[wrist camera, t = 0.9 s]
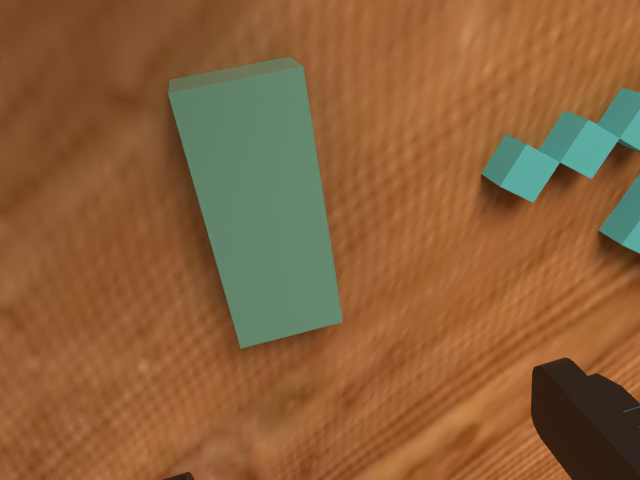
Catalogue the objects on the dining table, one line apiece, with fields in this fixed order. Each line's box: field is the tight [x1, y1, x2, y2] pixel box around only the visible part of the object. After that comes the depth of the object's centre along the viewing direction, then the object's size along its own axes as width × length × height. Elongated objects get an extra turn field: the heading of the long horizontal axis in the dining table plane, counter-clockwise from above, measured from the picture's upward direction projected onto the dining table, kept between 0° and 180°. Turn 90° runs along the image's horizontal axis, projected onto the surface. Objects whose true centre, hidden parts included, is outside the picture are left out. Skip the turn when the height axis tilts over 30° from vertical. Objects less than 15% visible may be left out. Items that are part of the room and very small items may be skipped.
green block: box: [168, 56, 343, 349], centre depth 23 cm, size 12×5×3 cm, turn 9°
